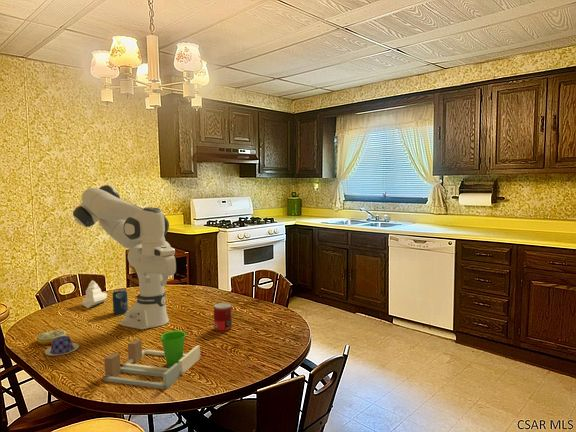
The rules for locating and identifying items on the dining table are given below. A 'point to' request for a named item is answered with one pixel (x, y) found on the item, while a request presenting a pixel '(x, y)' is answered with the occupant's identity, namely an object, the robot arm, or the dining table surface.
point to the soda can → (120, 301)
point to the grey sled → (114, 369)
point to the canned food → (222, 317)
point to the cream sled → (137, 353)
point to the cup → (173, 346)
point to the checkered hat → (61, 346)
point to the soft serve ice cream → (93, 295)
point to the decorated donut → (49, 336)
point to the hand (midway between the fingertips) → (155, 284)
